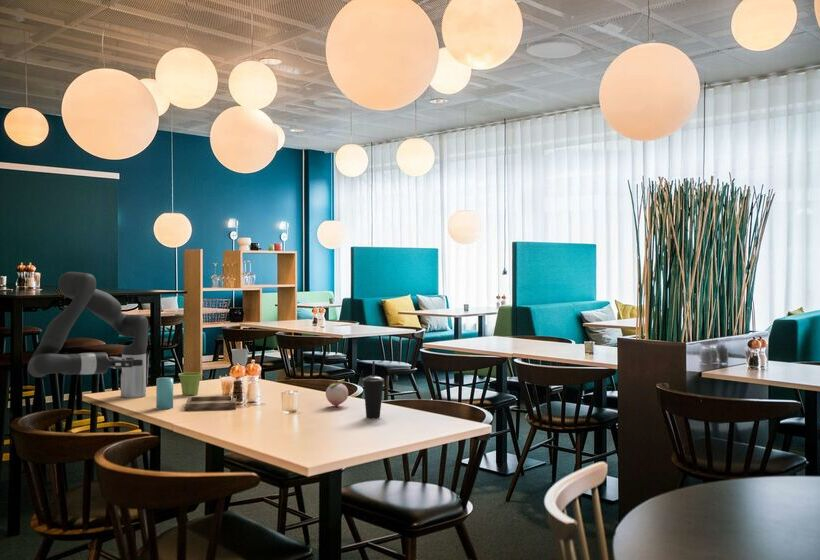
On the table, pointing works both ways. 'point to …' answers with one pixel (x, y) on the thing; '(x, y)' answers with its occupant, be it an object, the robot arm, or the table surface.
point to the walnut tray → (210, 403)
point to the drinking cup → (373, 394)
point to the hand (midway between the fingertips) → (137, 361)
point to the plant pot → (190, 382)
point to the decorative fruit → (336, 393)
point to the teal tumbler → (164, 393)
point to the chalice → (239, 356)
